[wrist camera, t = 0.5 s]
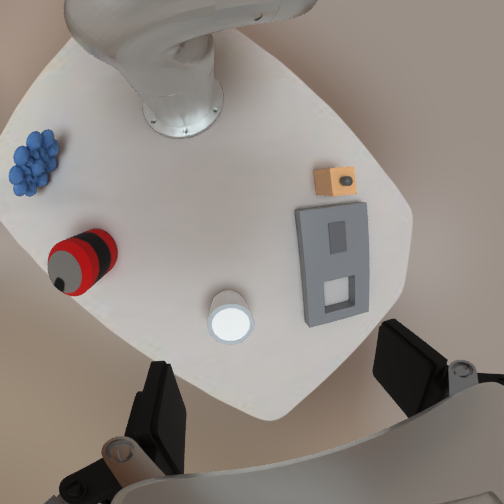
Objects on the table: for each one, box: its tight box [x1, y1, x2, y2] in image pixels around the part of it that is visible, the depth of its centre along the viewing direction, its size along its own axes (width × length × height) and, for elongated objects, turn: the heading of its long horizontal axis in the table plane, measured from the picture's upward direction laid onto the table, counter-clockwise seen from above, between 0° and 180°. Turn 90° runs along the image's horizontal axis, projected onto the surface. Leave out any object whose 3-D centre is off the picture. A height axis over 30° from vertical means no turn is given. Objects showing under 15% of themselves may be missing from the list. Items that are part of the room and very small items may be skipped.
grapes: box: [9, 129, 59, 197], centre depth 29 cm, size 12×7×12 cm, turn 144°
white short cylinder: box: [207, 290, 254, 344], centre depth 41 cm, size 7×7×7 cm
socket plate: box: [295, 202, 369, 328], centre depth 44 cm, size 20×12×3 cm, turn 8°
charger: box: [313, 167, 357, 196], centre depth 39 cm, size 4×4×8 cm
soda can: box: [48, 229, 117, 296], centre depth 34 cm, size 8×8×12 cm
